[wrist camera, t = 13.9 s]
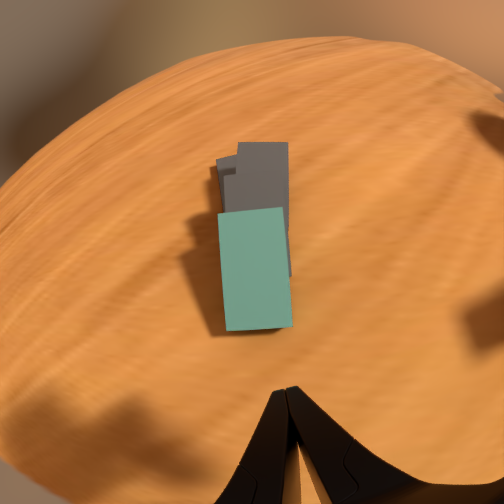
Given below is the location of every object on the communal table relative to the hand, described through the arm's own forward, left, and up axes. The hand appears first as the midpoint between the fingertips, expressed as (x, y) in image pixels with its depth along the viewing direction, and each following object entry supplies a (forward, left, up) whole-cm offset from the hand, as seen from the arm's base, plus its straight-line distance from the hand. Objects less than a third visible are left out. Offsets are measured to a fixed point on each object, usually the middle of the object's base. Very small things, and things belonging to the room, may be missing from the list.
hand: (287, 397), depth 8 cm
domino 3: (+6, +13, -11) cm, 19 cm away
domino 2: (+4, +10, -12) cm, 16 cm away
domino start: (+1, +6, -12) cm, 13 cm away
